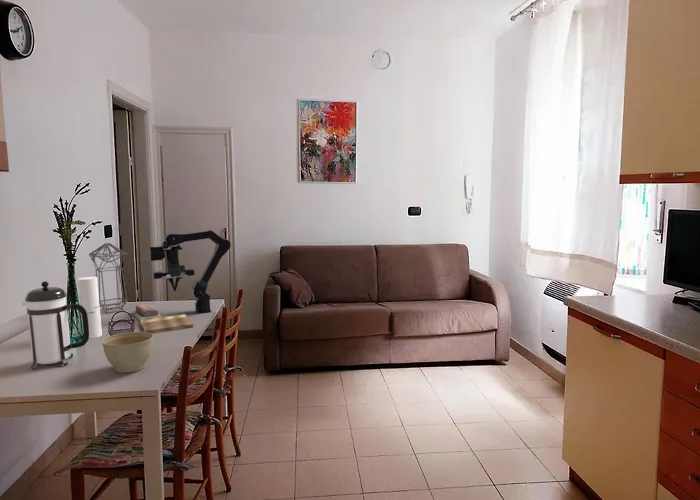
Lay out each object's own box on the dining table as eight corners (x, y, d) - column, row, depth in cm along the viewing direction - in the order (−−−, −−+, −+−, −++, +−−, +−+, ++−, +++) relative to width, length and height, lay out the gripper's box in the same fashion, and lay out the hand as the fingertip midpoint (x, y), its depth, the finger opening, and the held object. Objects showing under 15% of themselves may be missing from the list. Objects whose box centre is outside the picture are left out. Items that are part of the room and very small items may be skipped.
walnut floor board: (187, 320, 240) (187, 317, 240) (193, 327, 227) (193, 324, 227) (142, 326, 231) (141, 323, 230) (145, 334, 218) (145, 330, 218)
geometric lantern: (99, 316, 252) (93, 245, 247) (93, 310, 264) (87, 243, 260) (133, 311, 261) (127, 242, 257) (125, 305, 274) (120, 240, 269)
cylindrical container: (105, 334, 219) (100, 277, 216) (91, 339, 213) (85, 280, 210) (94, 332, 222) (89, 276, 219) (79, 337, 216) (74, 279, 213)
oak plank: (185, 317, 246) (184, 314, 246) (187, 320, 240) (187, 316, 240) (140, 323, 237) (140, 320, 237) (141, 326, 231) (141, 323, 231)
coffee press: (44, 374, 173) (35, 287, 170) (20, 366, 182) (11, 283, 178) (92, 358, 188) (85, 278, 184) (68, 352, 196) (61, 275, 193)
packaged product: (131, 305, 255) (151, 302, 261) (131, 314, 256) (152, 311, 261) (139, 311, 240) (161, 308, 246) (140, 321, 241) (162, 318, 247)
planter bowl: (153, 373, 171) (151, 342, 170) (101, 379, 167) (98, 347, 165) (157, 358, 187) (155, 329, 185) (109, 363, 182) (106, 334, 181)
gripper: (154, 263, 235) (156, 296, 237) (195, 259, 244) (197, 291, 246) (151, 260, 245) (153, 292, 247) (191, 257, 254) (193, 287, 256)
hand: (174, 291), depth 249 cm, fingers closed
